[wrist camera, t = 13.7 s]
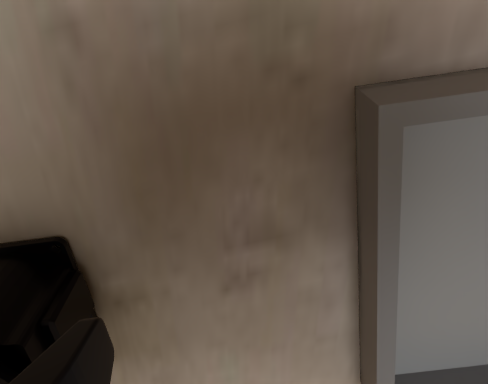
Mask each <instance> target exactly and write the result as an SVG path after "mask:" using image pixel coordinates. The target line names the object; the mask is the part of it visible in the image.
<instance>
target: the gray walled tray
mask: <svg viewBox="0 0 488 384" xmlns="http://www.w3.org/2000/svg"><path fill="white" fill-rule="evenodd" d="M355 107H356V162H357V216H358V270H359V324H360V378H361V384H488V68H482V69H475V70H468V71H461V72H454V73H447V74H440V75H433V76H426V77H419V78H412V79H405V80H398V81H391V82H384V83H377V84H370V85H363V86H356V87H355Z"/></svg>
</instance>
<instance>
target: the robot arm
mask: <svg viewBox="0 0 488 384" xmlns="http://www.w3.org/2000/svg"><path fill="white" fill-rule="evenodd" d="M55 245H58V246H60V248H61V249H58V248H56V247H55ZM113 361H114V348H113V344H112V342H111V339H110V337H109V334H108V331H107V329H106V326H105V323H104V321H103V320H102V319H101V318H98V317H97V316H96V314H95V311H94V303H93V300H92V298H91V295H90V292H89V290H88V287H87V285H86V282H85V279H84V277H83V274H82V273H81V272H80V271H79V270H78V268H77V265H76V263H75V260H74V258H73V255H72V252H71V250H70V247H69V245H68V243H67V241H66V240H65V239H63V238H60V237H53V238H45V239H38V240H30V241H22V242H15V243H7V244H0V384H110V381H111V374H112V368H113Z"/></svg>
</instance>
